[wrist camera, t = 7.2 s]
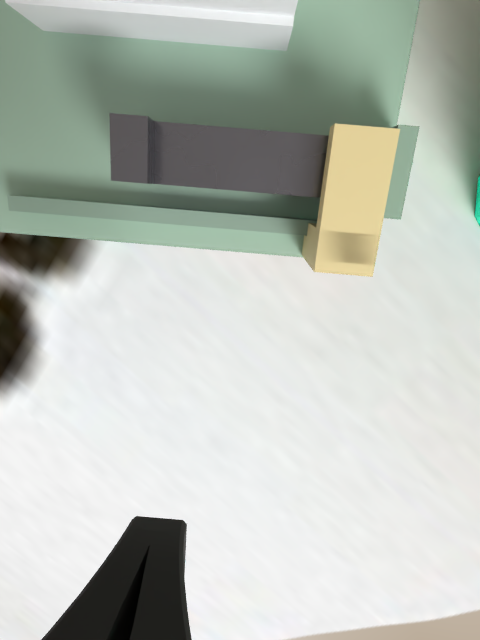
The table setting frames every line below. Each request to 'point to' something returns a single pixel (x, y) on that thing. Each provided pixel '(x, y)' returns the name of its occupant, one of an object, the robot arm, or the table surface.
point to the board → (206, 118)
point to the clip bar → (216, 157)
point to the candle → (478, 202)
